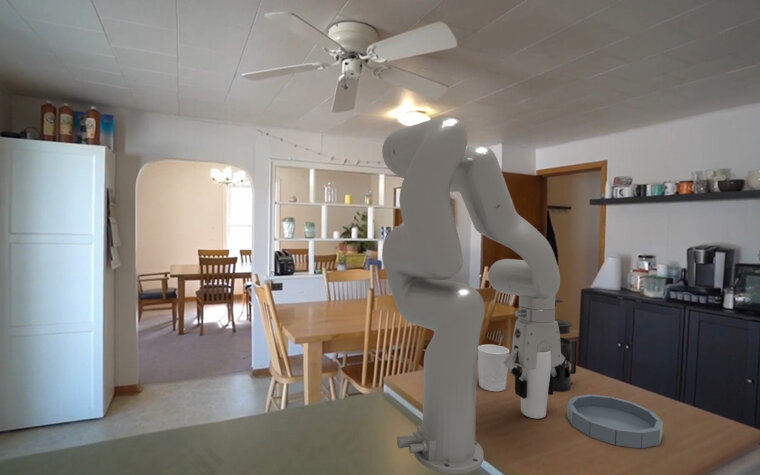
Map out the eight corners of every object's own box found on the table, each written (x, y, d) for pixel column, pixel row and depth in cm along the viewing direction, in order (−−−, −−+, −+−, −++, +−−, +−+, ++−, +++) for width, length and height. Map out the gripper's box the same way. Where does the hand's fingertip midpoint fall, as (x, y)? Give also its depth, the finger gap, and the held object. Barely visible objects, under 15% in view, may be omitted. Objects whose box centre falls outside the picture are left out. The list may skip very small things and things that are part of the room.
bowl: (616, 453, 74) (617, 437, 74) (551, 412, 90) (551, 399, 90) (682, 440, 79) (682, 425, 79) (609, 403, 96) (609, 391, 96)
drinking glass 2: (552, 423, 86) (554, 353, 85) (519, 419, 87) (521, 351, 86) (546, 409, 92) (548, 344, 92) (515, 405, 93) (517, 342, 93)
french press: (542, 392, 102) (545, 302, 101) (524, 378, 111) (526, 296, 110) (584, 390, 103) (587, 302, 103) (563, 377, 113) (565, 295, 112)
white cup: (470, 383, 107) (471, 346, 106) (493, 379, 110) (494, 343, 110) (490, 394, 99) (491, 355, 99) (514, 390, 103) (515, 351, 103)
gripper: (514, 320, 83) (511, 406, 83) (580, 316, 88) (577, 396, 88) (493, 313, 90) (490, 391, 90) (555, 309, 95) (553, 384, 96)
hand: (533, 393), depth 89 cm, fingers closed on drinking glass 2, 6 cm apart
